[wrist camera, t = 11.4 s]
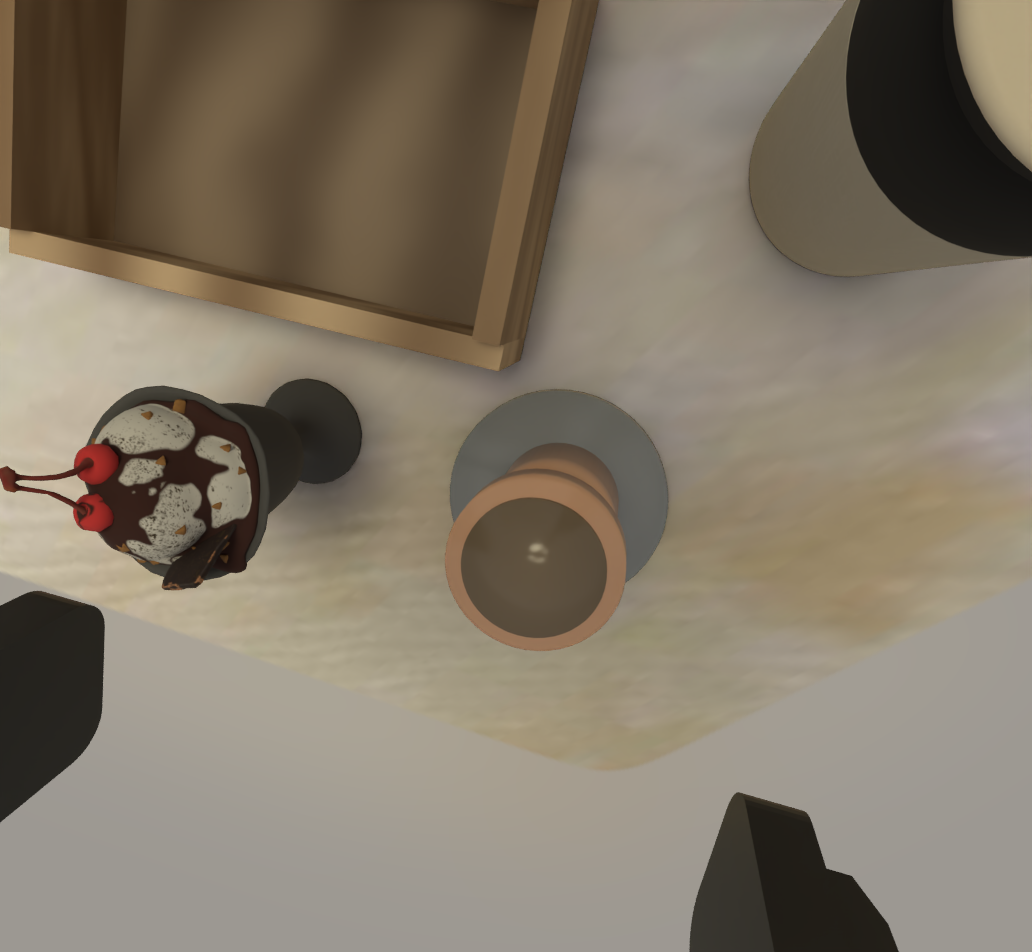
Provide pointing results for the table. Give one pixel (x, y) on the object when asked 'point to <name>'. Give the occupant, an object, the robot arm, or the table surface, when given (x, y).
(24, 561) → the table surface
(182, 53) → the box
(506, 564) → the clay pot
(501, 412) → the slate saucer
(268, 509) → the sundae
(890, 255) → the travel mug
